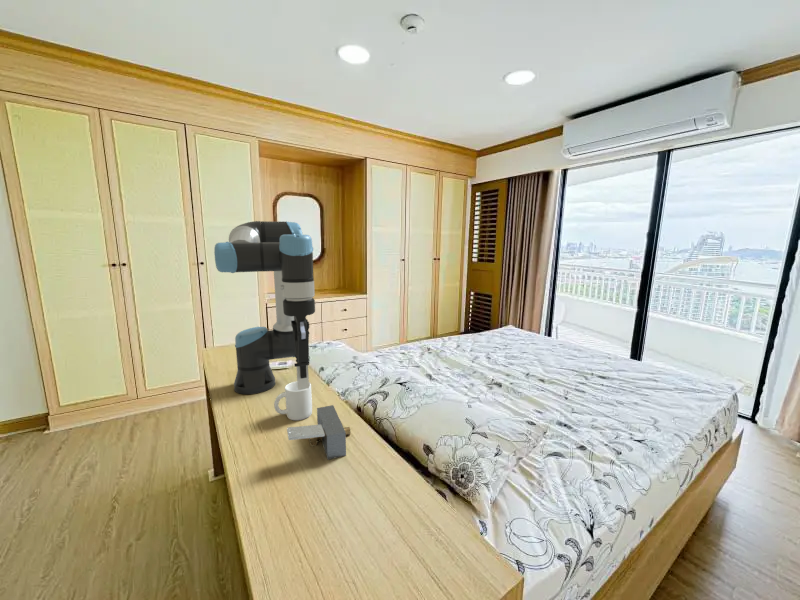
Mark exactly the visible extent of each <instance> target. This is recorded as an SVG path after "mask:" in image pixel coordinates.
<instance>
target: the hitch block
mask: <svg viewBox="0 0 800 600" xmlns="http://www.w3.org/2000/svg"><path fill="white" fill-rule="evenodd" d="M316 416H317V417H316V419H317V425H320V424H321V425H322V428H323V431H324V433H325V436H323V437H322V446H323V450H324V452H325V455H326V459H327V461H328V460H329V461H330V460H333V459H337V458H340V457H341V458H342V457H344V456H347V444H346V443H347V441H346V440H347V439H346V436H347V435H346V432H345V430H344V428H345V427H344V425H343V424H342V421H341V419H340V417H339V415H338V413H337V410H336V408H335V406H334V404H332V405H327V406H320V407H317V408H316Z"/></svg>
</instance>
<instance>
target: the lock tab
mask: <svg viewBox="0 0 800 600" xmlns="http://www.w3.org/2000/svg"><path fill="white" fill-rule="evenodd" d="M286 431H287V439H288V441H293V440H304V439H309V438H314V437H323V436H325V433H324V431H323V428H322V425H321V424H320V425H318V424H311V425H302V426H290V427H287V428H286Z"/></svg>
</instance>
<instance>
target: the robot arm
mask: <svg viewBox="0 0 800 600" xmlns="http://www.w3.org/2000/svg"><path fill="white" fill-rule="evenodd" d="M213 253H214V262H215V267H216V270H217V271H218V272H219V273H230V274H234V273H252V272H254V273H255V272H273V279H274V281H273V282H274V297H275V298H274V300H275V301H274V302H275V315H276V316H275V317H276V322H275V323H273V324H272V329H271V330H268V328H267V327H265V326H255V327H250V328H247V329H244V330H242V331H239V332H238V333H237V334H235V335H236V336H235V338H234V339H235V340H234V341H235V344H234V347H235V353H236V366H237V370H236V371H237V372H236V375H235V379H234V382H233V388H234V389H233V390H234V392H235V393H237V394H240V395H255V394H260V393H264V392H266V391H269V390H270V389H272V388H274V386H275V385H276V377H275V374H274V373H273V371H272V368H271V365H270V361H271V360H278V359H279V360H280V359H287V358H295V362H296V363H294V367H296V381H297V385H298V390H301V389H307V388H309V382H310V380H309V378H310V377H309V376H310V375H309V365H310V357H309V356H310V354H309V353H310V352H309V351H310V349H309V347H310V345H309V344H310V342H309V341H310V340H309V339H310V332H309V330H310V321H308V319H307V316H310V315H311V316H312V315H313V314H315V313H316V300H315V298H314V297H315V296H316V294H315V293H316V292H315V291H316V290H315V279H314V246H313V238H312V237H311V236H310V235H309V234H303V230H302V227H301V225H300V224H299V223H298V222H295V221H294V222H293V221H287V220H286V221H270V220H269V221H265V220H264V221H260V220H255V221H248V222H245V223H241V224H239V225H237V226H235V227H234V228H233V229H232V230H230V233H229V234H228V241H224V242H217V243H215V245H214V252H213Z"/></svg>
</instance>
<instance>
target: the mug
mask: <svg viewBox="0 0 800 600" xmlns="http://www.w3.org/2000/svg"><path fill="white" fill-rule="evenodd" d="M312 393H313V392H312V384H311V382H310V381H309V388H307V389H301V390H298V385H297V380H296V381H295V380H294V381H292V382H290V383H287V384H286V385H285V386H284V392H281V393H280V394H278V395H277V396H276V398H274V399H275V400H274V402H273V405H274V407H273V408H274V409H275V412H276V413H277V414H279V415H286V416H287V418H288V419H289V420H291V421H303V420H305V419H308V418H309V417H311V415H312V413H313V398H312V397H313V396H312ZM283 398H285V408H286V409H281V408H280V406H279V403H280V401H281V399H283Z"/></svg>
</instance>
